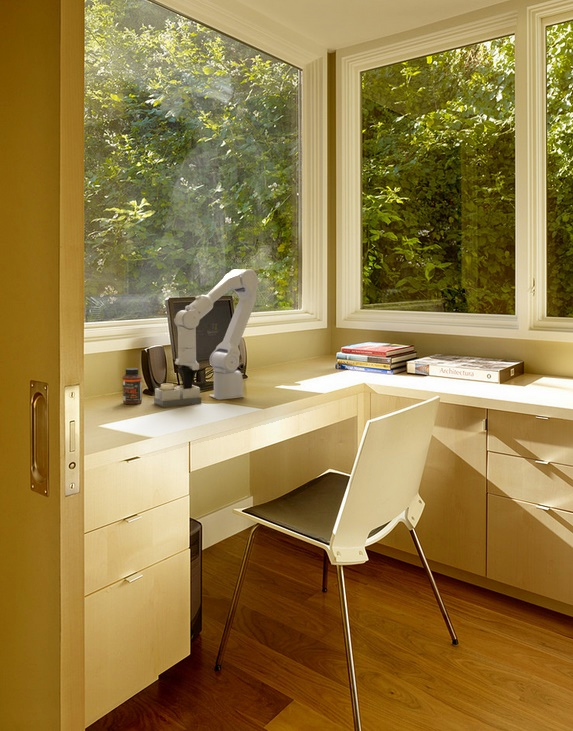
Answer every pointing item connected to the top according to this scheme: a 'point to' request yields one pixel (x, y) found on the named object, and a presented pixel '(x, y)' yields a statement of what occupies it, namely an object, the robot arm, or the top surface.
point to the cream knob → (167, 386)
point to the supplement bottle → (132, 387)
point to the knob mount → (177, 396)
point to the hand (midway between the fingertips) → (187, 389)
